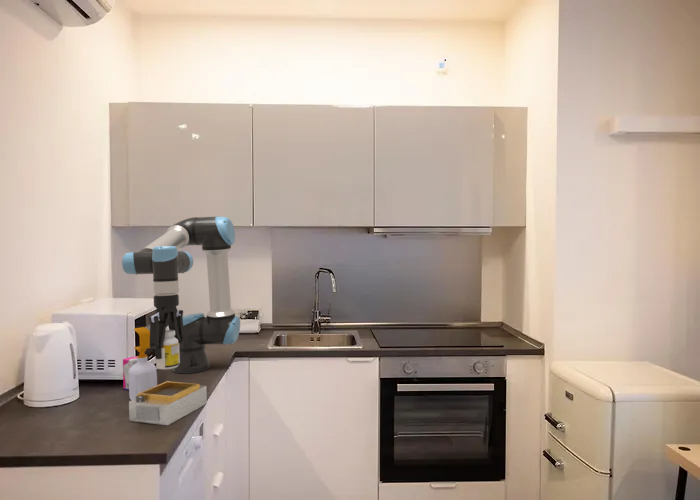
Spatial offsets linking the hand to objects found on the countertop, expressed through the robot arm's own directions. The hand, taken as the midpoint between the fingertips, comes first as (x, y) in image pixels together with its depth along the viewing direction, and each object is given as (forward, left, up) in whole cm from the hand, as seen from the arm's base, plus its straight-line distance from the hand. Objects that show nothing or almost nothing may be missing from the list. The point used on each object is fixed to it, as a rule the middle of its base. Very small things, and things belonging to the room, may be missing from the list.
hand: (168, 365), depth 159 cm
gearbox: (0, 0, -15) cm, 15 cm away
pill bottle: (0, 0, -1) cm, 1 cm away
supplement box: (-18, -30, -15) cm, 38 cm away
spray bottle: (-10, -19, -15) cm, 26 cm away
